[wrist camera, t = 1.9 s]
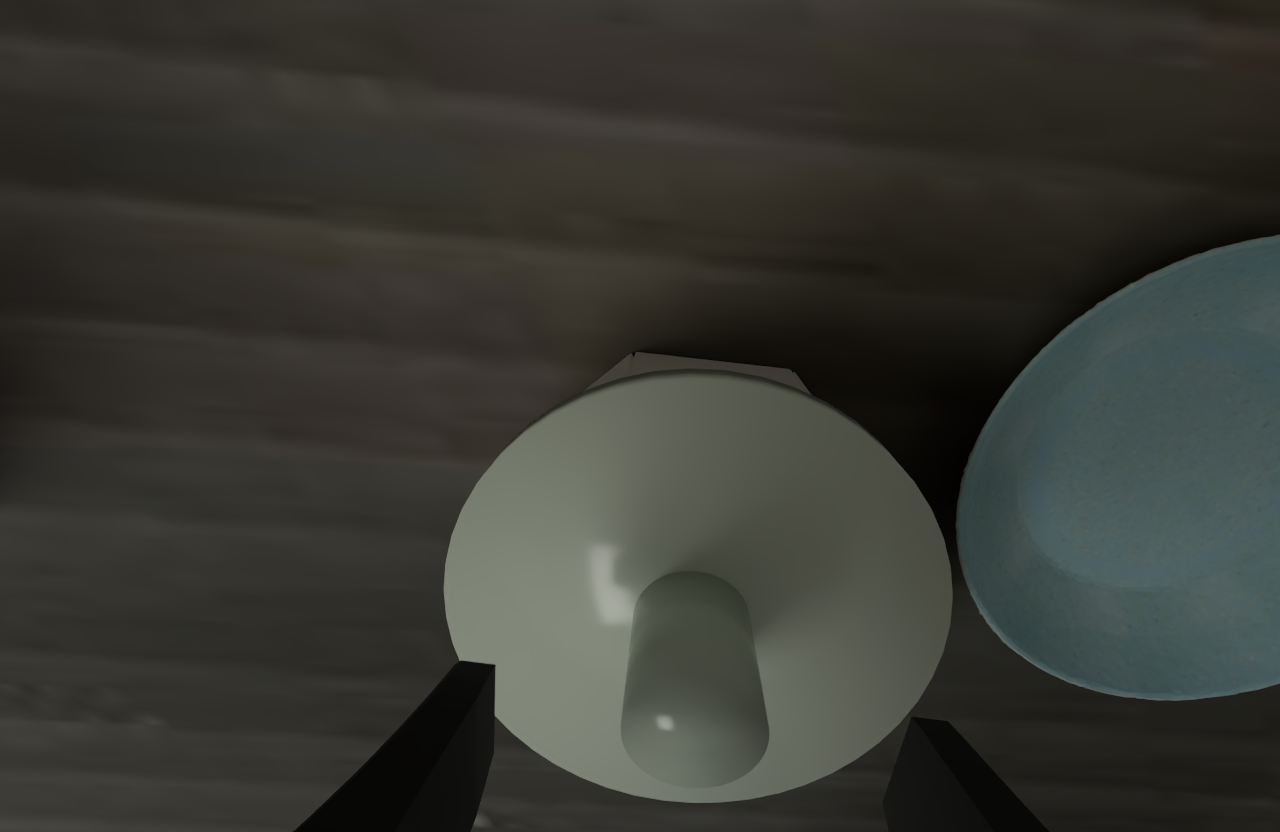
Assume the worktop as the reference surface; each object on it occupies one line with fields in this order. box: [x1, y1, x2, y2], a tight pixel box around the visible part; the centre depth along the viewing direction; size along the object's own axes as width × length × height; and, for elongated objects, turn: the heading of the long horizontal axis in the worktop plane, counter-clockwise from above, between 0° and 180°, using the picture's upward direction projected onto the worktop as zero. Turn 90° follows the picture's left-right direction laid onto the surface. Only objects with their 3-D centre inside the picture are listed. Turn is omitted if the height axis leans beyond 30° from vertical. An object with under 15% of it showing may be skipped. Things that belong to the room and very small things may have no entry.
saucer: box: [955, 235, 1280, 701], centre depth 15 cm, size 12×12×2 cm
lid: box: [444, 368, 953, 803], centre depth 12 cm, size 11×11×4 cm
